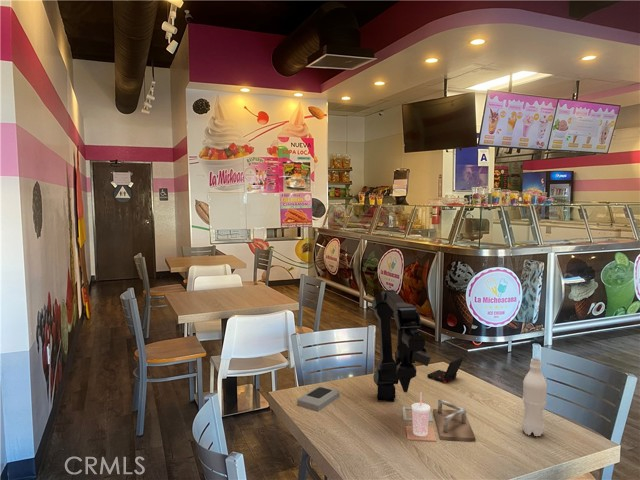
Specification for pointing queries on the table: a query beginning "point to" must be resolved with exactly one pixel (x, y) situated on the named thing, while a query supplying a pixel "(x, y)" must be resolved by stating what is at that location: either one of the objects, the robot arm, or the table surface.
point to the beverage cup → (420, 417)
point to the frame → (412, 419)
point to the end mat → (412, 436)
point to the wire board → (453, 423)
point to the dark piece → (449, 374)
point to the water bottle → (534, 399)
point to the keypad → (318, 398)
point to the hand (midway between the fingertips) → (404, 386)
